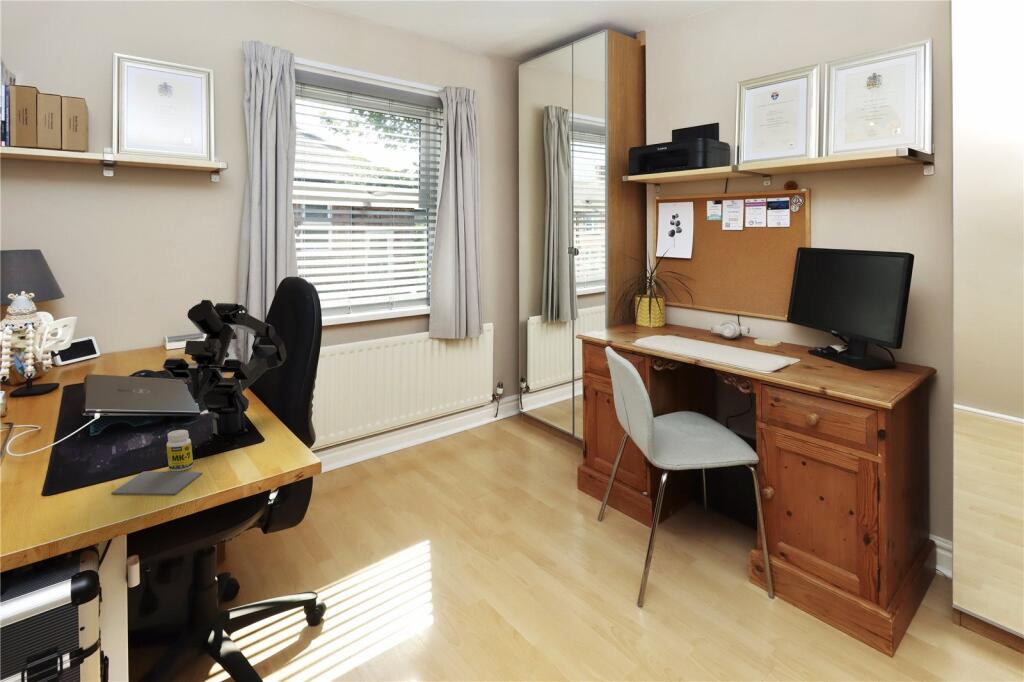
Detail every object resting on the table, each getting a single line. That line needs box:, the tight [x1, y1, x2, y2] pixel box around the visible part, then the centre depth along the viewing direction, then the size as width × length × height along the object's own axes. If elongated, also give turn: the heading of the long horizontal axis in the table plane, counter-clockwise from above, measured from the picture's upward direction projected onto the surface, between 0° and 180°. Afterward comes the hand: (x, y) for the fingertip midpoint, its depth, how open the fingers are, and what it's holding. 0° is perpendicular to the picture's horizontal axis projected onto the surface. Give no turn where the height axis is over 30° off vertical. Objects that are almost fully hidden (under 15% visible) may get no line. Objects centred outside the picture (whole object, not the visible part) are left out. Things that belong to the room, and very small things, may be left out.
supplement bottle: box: [166, 429, 194, 472], centre depth 124 cm, size 5×5×8 cm
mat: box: [110, 470, 203, 496], centre depth 117 cm, size 10×13×1 cm
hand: (195, 399), depth 130 cm, fingers closed
